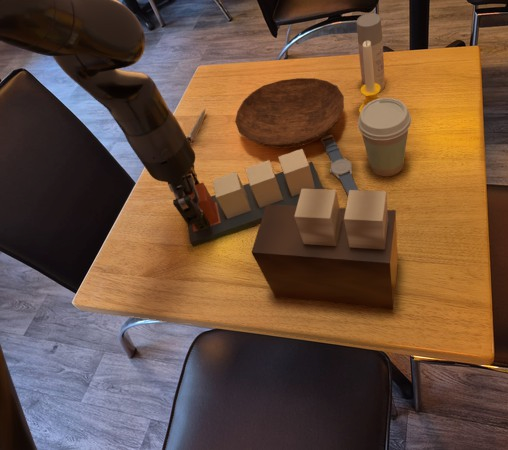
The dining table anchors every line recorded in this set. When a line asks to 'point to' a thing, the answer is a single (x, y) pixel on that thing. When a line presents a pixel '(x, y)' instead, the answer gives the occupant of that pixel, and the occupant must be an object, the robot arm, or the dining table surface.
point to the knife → (196, 127)
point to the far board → (248, 216)
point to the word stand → (330, 249)
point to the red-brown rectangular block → (206, 203)
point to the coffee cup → (385, 134)
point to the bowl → (290, 112)
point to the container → (371, 32)
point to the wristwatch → (339, 165)
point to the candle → (368, 76)
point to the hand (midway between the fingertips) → (201, 210)
